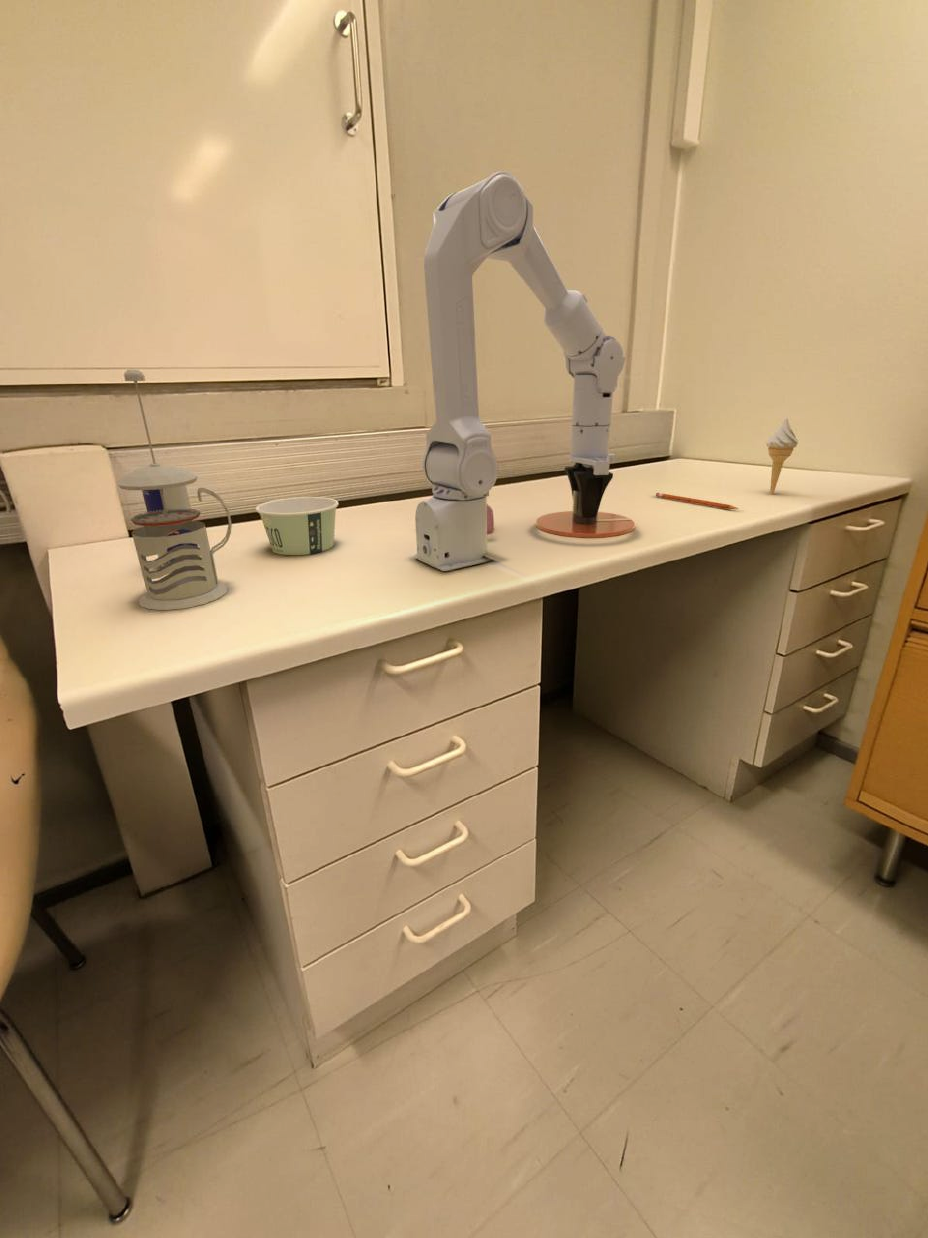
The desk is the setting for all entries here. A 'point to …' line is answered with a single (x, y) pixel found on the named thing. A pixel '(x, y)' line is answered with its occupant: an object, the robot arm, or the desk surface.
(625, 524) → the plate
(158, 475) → the french press
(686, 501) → the pencil
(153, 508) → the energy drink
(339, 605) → the desk surface
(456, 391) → the robot arm
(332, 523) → the food container
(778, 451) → the ice cream cone
